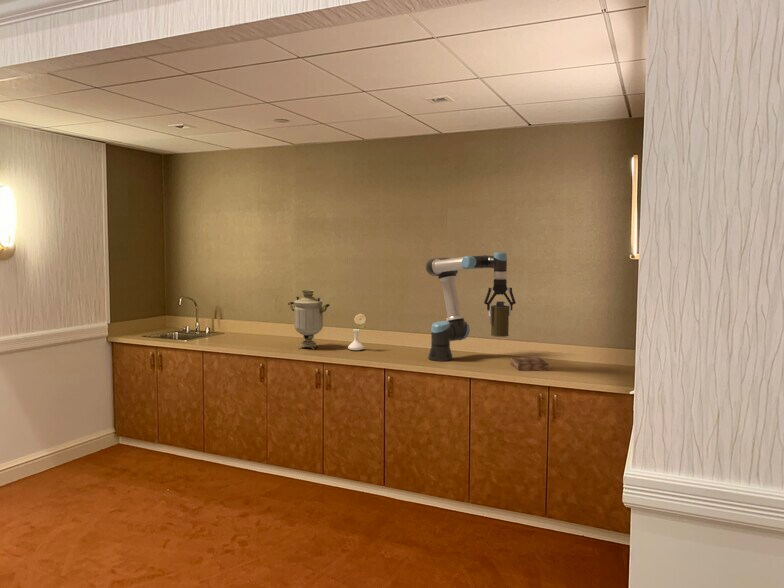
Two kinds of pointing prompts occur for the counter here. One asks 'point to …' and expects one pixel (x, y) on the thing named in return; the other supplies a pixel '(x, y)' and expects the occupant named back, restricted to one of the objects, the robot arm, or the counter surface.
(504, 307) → the canister
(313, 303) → the samovar
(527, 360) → the walnut base
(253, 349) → the counter surface
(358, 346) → the flower in vase
